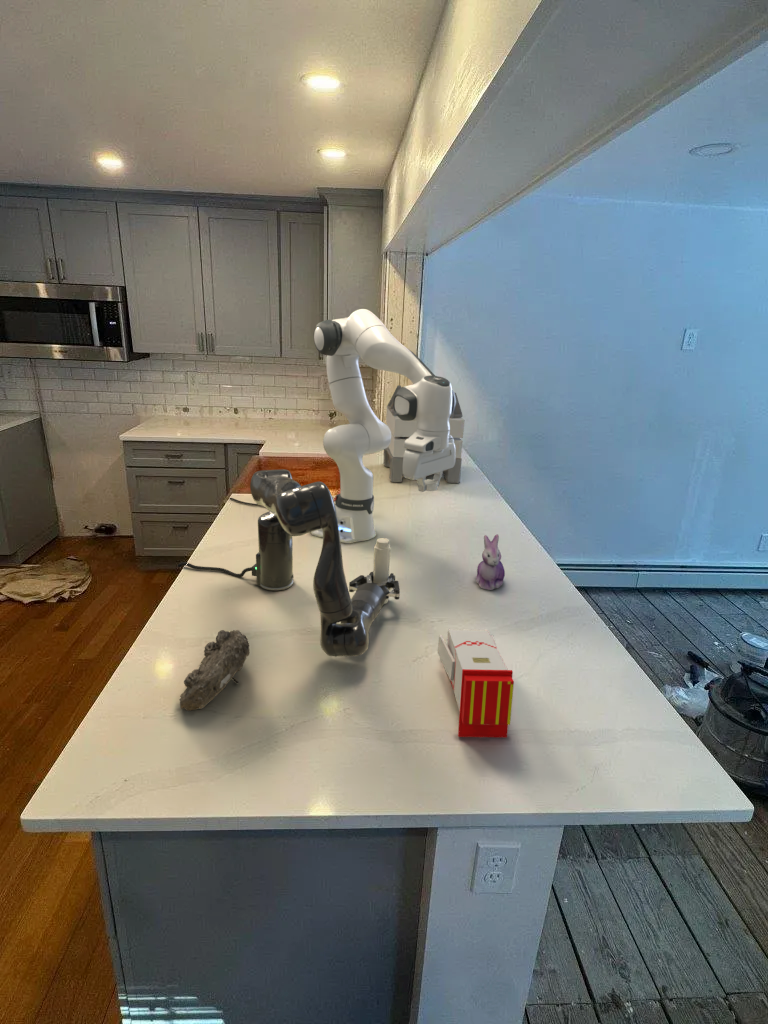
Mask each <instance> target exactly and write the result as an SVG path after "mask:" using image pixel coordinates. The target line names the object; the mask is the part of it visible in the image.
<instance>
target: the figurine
mask: <svg viewBox="0 0 768 1024" xmlns="http://www.w3.org/2000/svg"><path fill="white" fill-rule="evenodd" d="M499 539H500V536H499V534H495V535H494V536H493V538H492V540H491V539H490V538H489V536H488V535H487V534H484V536H483V544H484V545H483V547H484V549H483V551H482V553H481V558H482V560H481V561H480V562H479V563H478V564H477V568H476V576H475V577H476V578H475V583H476V584H477V585H478V586H479V588H480V589H483V590H489V591H490V590H491V591H493V590H494V589H499V588H500V587H501V586H502V585H503V583H504V579H505V575H506V571H505V567H504V564H503V562H502V561H501V560H502V554H501V550H500V549H499Z"/></svg>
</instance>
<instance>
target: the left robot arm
mask: <svg viewBox="0 0 768 1024" xmlns="http://www.w3.org/2000/svg"><path fill="white" fill-rule="evenodd" d="M249 489H250V494H251V497H252V499H253V501H254V502H255V504H258V505H262V506H261V507H263V506H264V508H266V510H267V512H264V513H262V514H261V515H259V516H258V519H257V538H258V540H257V541H258V542H257V544H258V552H257V553H255V564H253V565H251V567H246V568H244V569H242V570H241V572H240V573H235V572H232V571H230V570H228V569H226V568H223V567H216V566H200V565H195V564H192V563H189V562H187V561H181V562H179V563H178V564H177V566H176V567H177V568H181V567H182V566H186V567H189V568H191V569H194V570H201V571H215V572H222V573H225V574H227V575H229V576H231V577H235V578H242V577H243V576H245V574H246V573H248V572H251V576H252V577H256V586H258V587H260V588H262V589H264V590H266V591H271V592H272V591H273V592H278V591H279V592H280V591H284V590H287V589H289V588H291V587H292V586H293V585H294V580H295V579H294V577H295V576H294V561H293V560H294V559H293V558H294V557H293V555H294V554H293V537H301V536H305V535H307V534H310V533H311V532H313V531H316V530H319V529H322V530H323V537H322V546H321V551H320V554H319V558H318V561H317V565H316V567H315V571H314V575H313V581H312V582H313V583H312V587H313V593H314V594H313V595H314V597H315V600H316V604H317V607H318V611H319V617H320V618H319V619H320V636H319V645H320V648H321V650H322V651H323V653H325V655H327V656H329V657H358V656H362V655H363V654H364V653H366V652H367V650H368V648H369V642H370V640H369V639H370V638H369V637H370V636H369V635H370V628H371V626H372V624H373V622H374V621H375V620H376V618H377V617H378V616H379V614H380V613H381V610H382V608H383V606H384V605H385V604H384V602H385V600H386V599H388V600H389V598H391V597H392V598H394V600H400V595H401V594H400V592H401V590H400V583H399V581H398V580H396V575H395V574H394V572H390V573H389V577H388V579H387V580H386V581H385V580H384V581H382V582H381V583H374V582H373V571H370V572H369V574H367V575H366V576H365V575H361V574H360V575H359V576H357V577H355V578H354V579H352V580H351V581H349V583H348V584H347V580H346V575H345V569H344V561H343V551H342V542H340V534H339V526H338V519H337V512H336V507H335V501H334V497H333V495H332V493H331V491H330V489H329V487H328V486H327V485H326V484H325V483H324V482H323V481H320V480H319V481H314V482H311V483H308V484H304V485H301V483H299V482H298V481H297V480H295V479H293V476H292V473H291V471H290V470H288V469H283V468H282V469H281V468H280V469H263V470H257V471H255V472H253V474H252V476H251V478H250V484H249ZM187 563H188V564H187ZM186 564H187V565H186ZM391 589H392V590H391ZM350 593H354V594H353V595H352V596H351V595H350Z"/></svg>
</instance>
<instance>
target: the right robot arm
mask: <svg viewBox="0 0 768 1024" xmlns="http://www.w3.org/2000/svg"><path fill="white" fill-rule="evenodd" d="M313 343H314V346H315V348H316V350H317V351H318V353H320V354H321V355H323V356H326V358H325V365H326V366H325V367H326V376H327V377H326V378H327V382H328V388H329V392H330V396H331V400H332V404H333V408H334V409H335V410H336V412H338V413H340V414H342V415H343V416H344V417H345V418H346V419H347V421H348V423H346V424H340V425H337V426H334V427H332V428H329V429H327V430H326V431H325V433H324V436H323V439H322V446H323V449H324V452H325V453H326V455H327V456H329V458H330V459H332V460H333V461H334V462H335V464H336V466H337V468H338V472H339V481H340V484H339V485H340V488H339V489H340V490H339V491H338V492H337V494H336V495H335V496H334V497H333V500H334V503H335V507H336V512H337V519H338V526H339V534H340V542H341V543H343V544H352V543H357V542H365V541H368V540H372V539H373V538H375V537H376V535H377V532H376V528H375V523H374V513H373V512H374V509H375V496H374V474H373V472H372V471H371V469H369V468H368V467H366V466H365V465H364V462H363V457H364V456H368V455H369V456H370V455H374V454H377V453H381V452H382V451H384V449H386V448H387V447H388V446H389V445H390V442H391V432H390V429H389V427H388V426H387V423H386V422H383V421H382V420H381V419H380V418H379V417H378V416H377V415H376V413H375V412H374V411H373V409H372V407H371V405H370V404H369V400H368V397H367V394H366V390H365V385H364V381H363V377H362V373H361V369H360V365H359V359H361V361H363V362H364V364H366V365H367V366H368V367H370V368H372V369H374V370H378V371H383V372H384V371H385V372H390V373H395V374H399V375H400V376H404V377H405V378H407V379H408V380H409V381H411V383H412V384H409V385H405V386H401V388H400V389H399V390H398V391H397V392H396V394H395V397H394V402H393V406H394V411H395V413H396V415H397V416H398V417H399V418H400V419H401V420H403V421H416V422H417V429H416V432H414V434H413V435H412V436H410V437H409V438H408V439H406V440H405V442H404V448H406V449H407V450H406V451H405V453H404V457H403V475H402V476H403V477H404V479H408V480H411V481H416V483H417V485H418V487H417V489H418V490H417V491H418V492H420V493H424V492H427V491H426V490H427V485H425V482H424V480H425V479H427V478H426V477H428V476H432V475H433V478H432V480H435V481H437V482H438V486H437V488H438V487H439V486H440V481H441V479H442V476H443V475H444V474H443V471H444V470H447V469H450V468H453V467H454V465H455V456H456V452H455V444H454V439H453V437H452V436H451V435H450V425H449V419H450V416H451V414H452V413H453V411H454V409H455V406H456V397H455V394H454V392H455V391H454V390H453V388H452V383H451V381H450V380H448V379H447V378H446V377H443V376H437V375H435V374H434V373H433V372H432V370H431V369H430V368H429V367H428V366H427V365H426V364H425V363H424V362H423V360H422V359H420V358H419V356H418V355H416V353H414V352H413V351H412V350H410V348H408V347H407V346H405V345H404V344H402V343H401V342H400V341H399V340H398V339H397V338H396V337H395V336H394V335H393V334H392V333H391V332H390V331H389V329H388V328H387V326H386V325H385V324H384V323H383V321H382V320H381V319H380V318H379V317H378V316H377V315H376V314H374V313H373V312H372V311H371V310H369V309H366V308H358V309H356V310H354V311H353V312H352V313H351V314H350V315H349V316H347V317H342V318H341V317H340V318H336V319H326V320H322V321H320V322H318V323H317V324H316V325H315V327H314V331H313ZM453 391H454V392H453ZM229 500H230V501H233V502H236V503H240V504H242V505H248V506H256V507H264V506H262V505H258V504H257V503H254V502H253V503H252V502H246V501H241V500H239V499H237V498H233V497H229ZM264 508H265V507H264ZM310 533H311V536H315V537H319V538H323V530H322V529H319V530H316V531H313V532H310Z"/></svg>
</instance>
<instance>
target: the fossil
mask: <svg viewBox="0 0 768 1024" xmlns="http://www.w3.org/2000/svg"><path fill="white" fill-rule="evenodd" d="M203 653H204V654H203V656H204V658H203V659H202V660H201V662H200V664H199V666H198V669H197V668H196V669H193V670H192V671H191V672H189V673H188V674H187V675H186V677H185V678H184V680H183V684H184V686H185V687H186V688H185V689H184V690H183V692H182V693H181V694H180V696H179V697H180V698H179V704H180V709H185V710H186V712H187V711H188V712H191V711H194V710H195V711H196V710H199V709H200V710H202V709H204V708H205V707H206V706H207V705H208V704H209V703H210V702H211V701H213V700H214V699H215V697H217V696H218V695H219V694H220V693H221V692H222V691H223V690H225V689H226V687H227V686H228V683H229V682H231V680H232V681H233V682H234V683H235V684H239V681H238V680H237V679H236V677H234V676H235V674H236V673H238V672H240V670H241V669H242V668H243V666H244V663H245V661H246V660H247V657H249V656H250V642H249V639H248V637H247V636H246V635H245V634H243V633H242V632H241V631H240V630H239V629H235V630H234V629H233V630H230V631H228V630H224V629H220V630H219V631H218V632H217V635H216V637H215V641H210V642H207V643H206V644H205V646H204V650H203Z"/></svg>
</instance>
